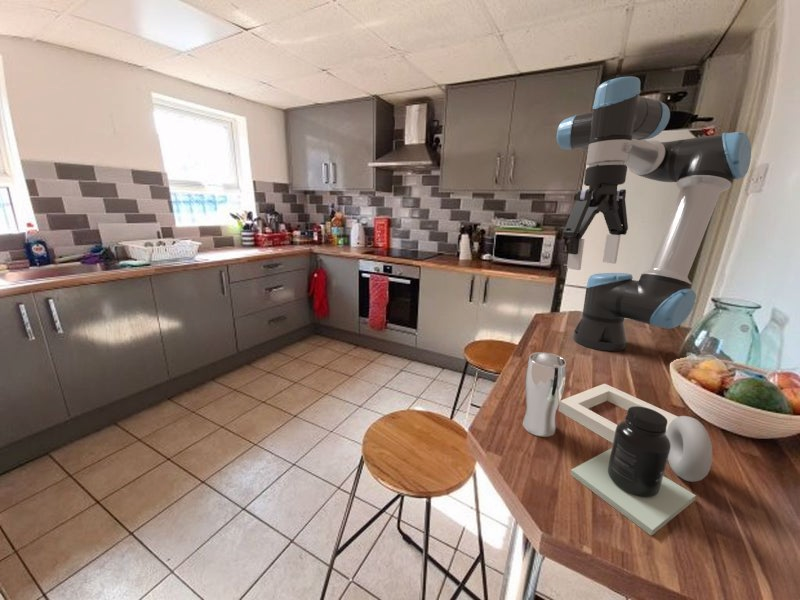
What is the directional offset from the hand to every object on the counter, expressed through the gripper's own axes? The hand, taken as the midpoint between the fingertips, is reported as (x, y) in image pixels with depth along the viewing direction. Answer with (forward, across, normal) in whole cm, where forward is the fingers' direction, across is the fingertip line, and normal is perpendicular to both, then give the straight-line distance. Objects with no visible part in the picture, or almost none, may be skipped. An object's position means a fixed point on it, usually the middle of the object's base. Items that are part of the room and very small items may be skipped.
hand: (592, 265), depth 75 cm
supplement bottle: (+29, -22, -24) cm, 44 cm away
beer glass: (+30, -23, -7) cm, 38 cm away
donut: (+30, -12, -27) cm, 42 cm away
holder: (+30, -6, -14) cm, 34 cm away
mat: (+29, -23, -24) cm, 44 cm away
